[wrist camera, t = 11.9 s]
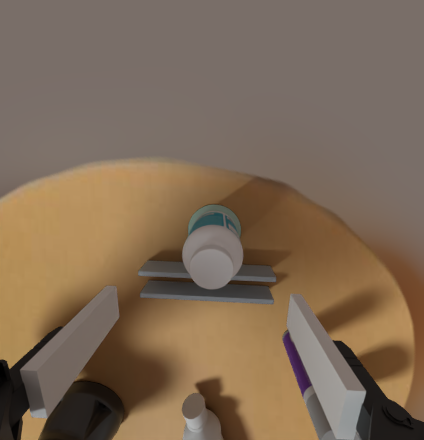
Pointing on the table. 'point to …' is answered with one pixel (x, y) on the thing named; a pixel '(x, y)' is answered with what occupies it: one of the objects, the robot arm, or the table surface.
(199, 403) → the bottle
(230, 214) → the spot
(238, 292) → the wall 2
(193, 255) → the pill bottle
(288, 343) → the container
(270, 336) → the table surface
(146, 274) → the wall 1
